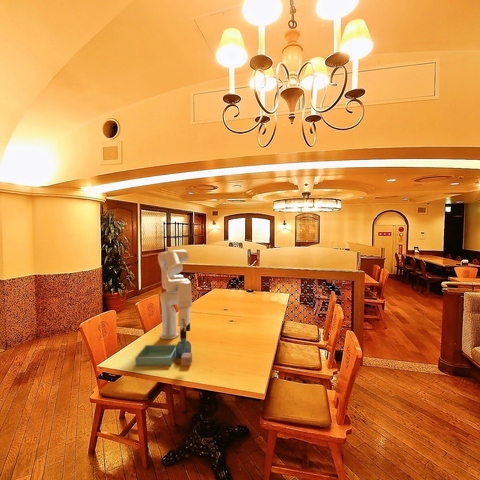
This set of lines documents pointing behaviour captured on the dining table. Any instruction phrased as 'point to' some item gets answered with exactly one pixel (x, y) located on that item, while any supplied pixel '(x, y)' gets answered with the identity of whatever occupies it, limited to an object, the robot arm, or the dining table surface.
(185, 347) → the perfume bottle
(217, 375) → the dining table surface
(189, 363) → the walnut cube
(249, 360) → the dining table surface
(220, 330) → the dining table surface
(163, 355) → the tote
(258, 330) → the dining table surface
